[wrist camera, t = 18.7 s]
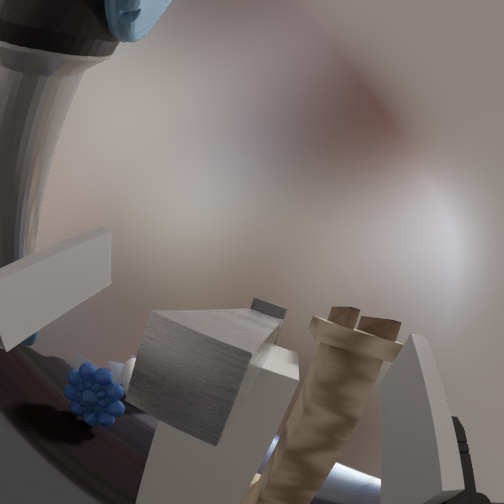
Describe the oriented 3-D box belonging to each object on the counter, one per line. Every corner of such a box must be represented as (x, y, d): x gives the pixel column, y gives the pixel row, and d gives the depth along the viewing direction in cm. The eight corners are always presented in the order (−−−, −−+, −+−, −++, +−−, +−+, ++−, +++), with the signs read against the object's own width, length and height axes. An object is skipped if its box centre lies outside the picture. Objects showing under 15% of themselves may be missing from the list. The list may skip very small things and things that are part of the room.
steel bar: (124, 400, 7) (162, 276, 8) (249, 333, 30) (262, 299, 31) (216, 446, 6) (266, 316, 7) (275, 342, 30) (288, 308, 30)
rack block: (127, 538, 15) (185, 337, 18) (165, 494, 26) (224, 326, 29) (196, 569, 13) (299, 380, 17) (221, 518, 24) (297, 353, 27)
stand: (224, 529, 22) (329, 299, 26) (244, 478, 36) (317, 302, 40) (298, 546, 20) (419, 327, 24) (300, 494, 34) (380, 321, 38)
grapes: (129, 432, 38) (143, 376, 39) (110, 448, 31) (123, 387, 32) (76, 399, 39) (87, 344, 40) (54, 409, 32) (63, 348, 34)
